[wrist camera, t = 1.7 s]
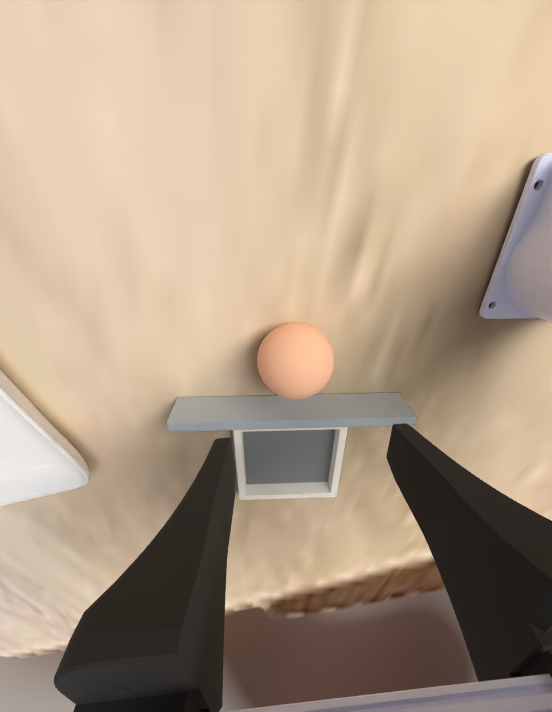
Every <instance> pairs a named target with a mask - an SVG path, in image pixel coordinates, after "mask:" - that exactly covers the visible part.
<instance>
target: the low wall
mask: <svg viewBox="0 0 552 712" xmlns="http://www.w3.org/2000/svg"><path fill="white" fill-rule="evenodd" d="M416 419H417V416H416V415H415V413H414V412H413V411H412V409H411V408H410V406H409V405H408V404H407V402H406V401H405V399H404V398H403V396H402V395H401V394H400V393H355V394H315V395H313V396H311V397H308V398H305V399H298V400H294V399H287V398H284V397H281V396H279V395H263V396H217V397H177V399H176V402H175V404H174V407H173V409H172V411H171V414H170V416H169V418H168V421H167V423H166V424H167V428H168V432H181V431H219V430H258V429H296V428H334V427H373V426H393V424H403V423H407V424H408V425H409V426H411V425H415V422H416Z"/></svg>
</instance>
